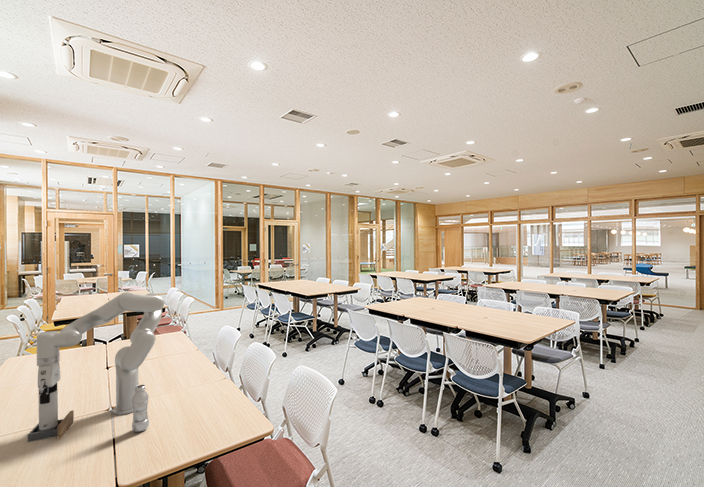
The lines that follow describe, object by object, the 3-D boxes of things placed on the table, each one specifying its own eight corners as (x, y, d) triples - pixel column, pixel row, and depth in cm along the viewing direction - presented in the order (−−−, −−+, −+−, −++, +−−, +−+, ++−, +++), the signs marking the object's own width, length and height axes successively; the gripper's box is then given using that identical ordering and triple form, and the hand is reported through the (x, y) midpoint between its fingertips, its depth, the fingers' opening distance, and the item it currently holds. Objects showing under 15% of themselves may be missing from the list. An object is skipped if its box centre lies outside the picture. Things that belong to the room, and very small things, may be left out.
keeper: (67, 425, 153) (67, 418, 153) (59, 436, 145) (58, 429, 145) (38, 430, 149) (38, 423, 149) (27, 442, 140) (27, 434, 140)
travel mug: (46, 433, 143) (46, 387, 143) (35, 431, 145) (34, 386, 144) (62, 425, 149) (61, 381, 149) (50, 423, 151) (50, 380, 150)
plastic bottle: (152, 427, 151) (152, 384, 151) (138, 435, 145) (138, 390, 145) (142, 424, 153) (142, 382, 153) (128, 432, 147) (127, 388, 147)
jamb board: (73, 422, 155) (73, 410, 155) (61, 439, 142) (61, 425, 142) (70, 423, 155) (70, 410, 155) (57, 439, 142) (57, 426, 142)
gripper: (50, 365, 140) (50, 407, 140) (66, 352, 156) (67, 390, 156) (27, 368, 137) (27, 410, 137) (46, 354, 153) (46, 393, 153)
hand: (48, 399), depth 147 cm, fingers closed on travel mug, 6 cm apart
